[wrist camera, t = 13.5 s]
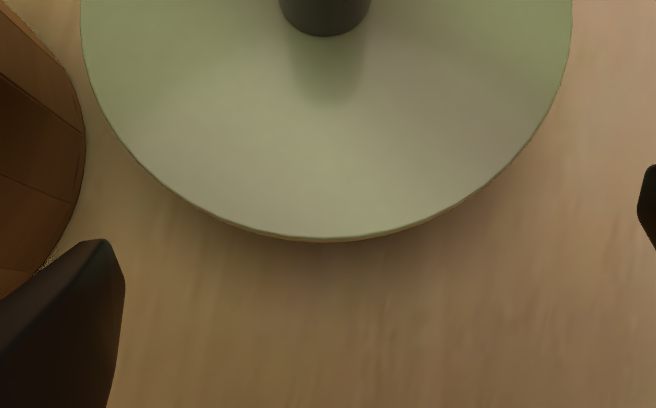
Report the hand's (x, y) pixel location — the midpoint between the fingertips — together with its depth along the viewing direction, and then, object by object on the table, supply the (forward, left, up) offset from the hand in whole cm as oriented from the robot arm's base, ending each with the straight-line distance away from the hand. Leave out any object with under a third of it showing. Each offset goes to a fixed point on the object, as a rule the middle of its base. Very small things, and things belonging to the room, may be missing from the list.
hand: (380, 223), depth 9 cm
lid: (+7, +3, -5) cm, 9 cm away
